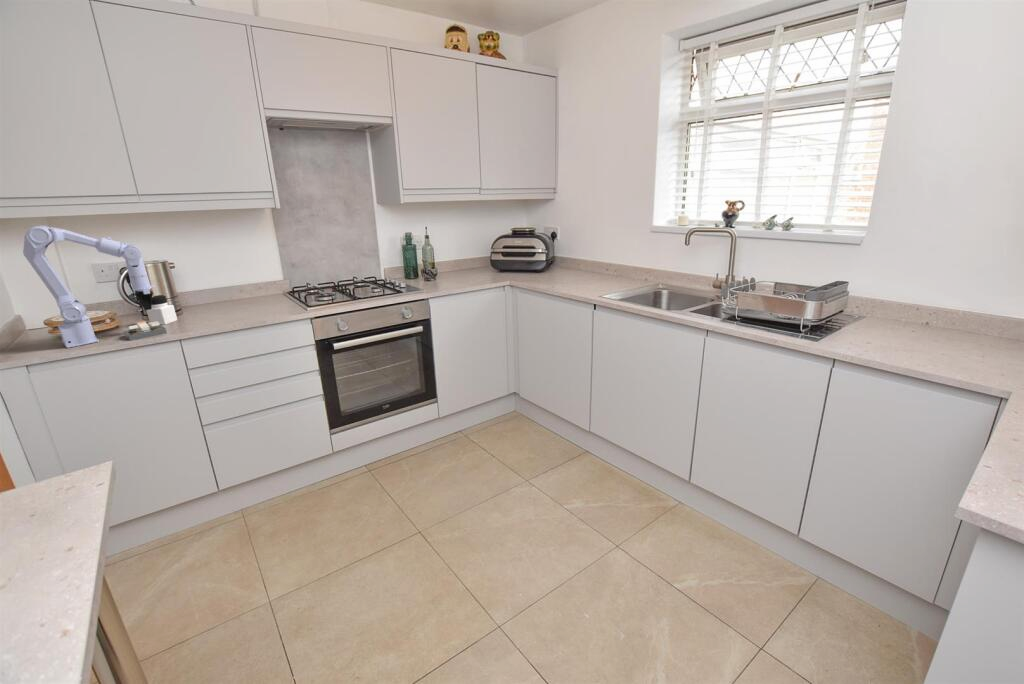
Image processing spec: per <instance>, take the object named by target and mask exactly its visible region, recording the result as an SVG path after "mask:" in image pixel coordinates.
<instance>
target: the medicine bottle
mask: <svg viewBox="0 0 1024 684" xmlns="http://www.w3.org/2000/svg"><path fill="white" fill-rule="evenodd" d="M151 303H152V309H150V310H146V313H147V317H148V321H149V322H154V321H156V322H159V324H160V325H161V326H162V325H163V326H165V325H168V324H171V323H174V322H177V321H178V318H177V317H178V316H177V314H176V310H175V306H174V305H173V304H168V300H167V296H166V295H163V294H157V295H152V300H151Z"/></svg>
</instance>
